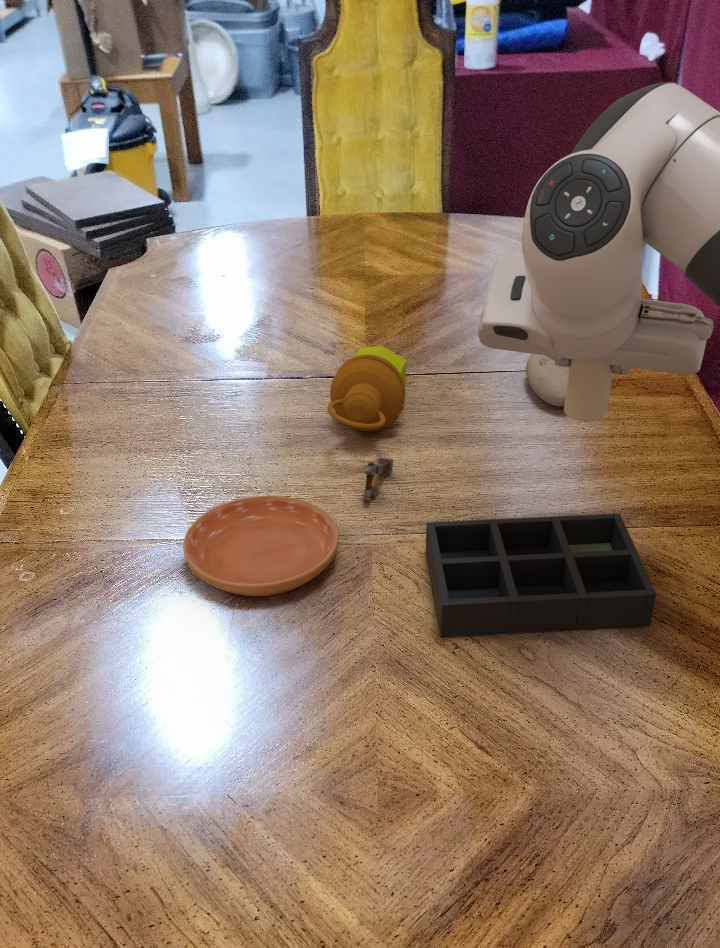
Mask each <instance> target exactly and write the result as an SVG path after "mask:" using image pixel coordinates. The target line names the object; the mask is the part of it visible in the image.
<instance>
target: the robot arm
mask: <svg viewBox="0 0 720 948" xmlns="http://www.w3.org/2000/svg"><path fill="white" fill-rule="evenodd" d="M521 234H522V235H521V246H522V247H521V250H522V253H515V254H514V253H513V254H502V255H500V256H497V257H496V259H495V261H494V265H493V268H492V270H491V273H490V275H489V278H488V283H487V286H486V290H485V294H484V299H483V306H482V310H481V314H480V319H479V323H478V327H477V336H478V339H479V342H480V344H481V345H483V346H485V347H487V348H490V349H493V350H500V351H501V350H502V351H509V352H516V353H523V354H529V355H530V354H531V355H532V354H537V355H545V356H547V357H549V358H550V359H552V360H554V362H555V365H556V366H562V367H570V360H571V359H574V360H581V361H589V362H596V363H604V364H611V365H612V373H613V374H615V375H622V376H628V374H629V371H630V370H633V369H641V370H649V371H656V372H663V373H671V374H677V375H685V376H687V375H692V374H696V373H698V372H700V370H701V367H702V364H703V363H702V362H703V359H704V354H705V350H706V345H707V340H708V339H710V337H711V336H712V335H713V331H714V321H713V320H712V318H710V317H705V315H704V313H703V312H702V311H701V310H700V309H699V308H697V307H696V306H693V305H690V304H686V303H681V302H671V301H664V300H655V299H646V298H643V273H642V268H643V267H642V266H643V261H644V248H645V246H646V245H648V246H649V247H650V248H651V249H653V250H655V251H656V252H657V253H659V254H660V255H661V256H662V257H663V258H665V259H667V260H668V261H669V262H670V263H671V264H673V265H674V266H675V267H676V268H678V269H679V270H680V271H681V272H683V273H684V275H685V277H686V278H687V279H688V280H689V281H690V282H691V283H692V284H693V285H695V286H696V287H697V289H699V290H700V291H701V293H703V294H704V295H705V296H706V297H707V298H708V299H709V300H710V301H711V302H712V303H714V305H716V306H717V307H720V111H719V110H717V109H715V108H714V107H713V106H711V105H710V104H708V102H706V101H704V100H703V99H701V98H700V97H699V96H697V95H695V94H694V93H693V92H691V91H690V90H688V89H686V87H683V86H681V85H680V84H679V83H678V82H675V81H662V82H658V83H652V84H650V85H647V86H644V87H641V88H639V89H636V90H635V91H632V92H630V93H628V94H625V95H624V96H621V97H620V98H617V99H616V100H615V101H614V102H612V103H611V104H610V105H609V106H608V107H607V108H606V109H604V111H603V112H601V113H600V115H598V117H596V119H595V120H593V122H592V123H591V124H590V125H589V126H588V128H587V129H586V131H585V132H584V133H583V134H582V136H581V137H580V138H579V140H578V141H577V143H576V144H575V147H574V148H573V149H572V151H571V152H570V154H568V155H566V156H564V157H562V158H560V159H559V160H557V161H556V162H554V163H553V164H552V165H551V166H550V167H549V168H548V169H547V170H546V171H545V172H544V173H543V174H542V176H541V177H540V178H539V179H538V181H537V182H536V184H535V185H534V187H533V190H532V192H531V194H530V197H529V199H528V202H527V206H526V209H525V212H524V219H523V223H522V233H521Z"/></svg>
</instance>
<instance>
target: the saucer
mask: <svg viewBox="0 0 720 948" xmlns="http://www.w3.org/2000/svg"><path fill="white" fill-rule="evenodd" d="M339 541H340V532H339V528H338V525H337V523H336V522H335V520H334V518H333V517H332V516H331V515H330V514H329V513H328V512H327V511H326V510H324V509H323V508H321V507H320V506H318V505H316V504H315V503H311V502H310V501H306V500H304V499H300V498H296V497H291V496H283V495H257V496H256V495H255V496H248V497H242V498H238V499H235V500H230V501H227V502H224V503H222V504H220V505H218V506H215V507H213V508H211V509H209V510H207V511H206V512H205V513H203V514H202V515H200V516H199V517H198V518H197V519H195V521H193V522H192V524H191V525H190V526H189V528H188V529H187V531H186V533H185V536H184V538H183V543H182V550H183V555H184V559H185V561H186V563H187V565H188V567H189V568H190V570H191V571H192V573H193V574H194V575H195V576H196V577H197V578H199V579H200V580H201V581H202V582H205V584H206V583H207V584H208V585H210V586H212V587H214V588H217V589H218V590H221V591H224V592H228V593H230V594H235V595H240V596H245V597H269V596H275V595H280V594H284V593H288V592H291V591H293V590H296V589H297V588H300V587H301V586H303V585H305V584H307V583H308V582H310V581H312V580H313V579H315V578H316V577H317V576H319V575H320V574H321V573H322V572H323V571H324V570H325V569H326V568H328V566H329V565H330V564H331V562H332V561H333V559H334V558H335V556H336V554H337V552H338V549H339V548H338V547H339Z"/></svg>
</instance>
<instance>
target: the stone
mask: <svg viewBox="0 0 720 948" xmlns="http://www.w3.org/2000/svg"><path fill="white" fill-rule="evenodd" d="M525 374H526V378H527V380H528V383H529V385H530V386H531V389H532V390H533V392H534V393H535V394H536V395H537V396H538V398H539V399H541V400H542V401H544V402H545V403H547V404H549V405H552V406H555V407H564V405H565V398H566V390H567V382H568V374H569V367H562V366H556V365H555V362H554V360H552V359H550V358H549V357H547V356H545V355H537V354H531V355H530V356H529V357H528V359H527V360H526V364H525Z"/></svg>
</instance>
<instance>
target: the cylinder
mask: <svg viewBox="0 0 720 948" xmlns="http://www.w3.org/2000/svg"><path fill="white" fill-rule="evenodd" d="M613 375H614V373H612V365H611V364H604V363H596V362H589V361H581V360H574V359H571V360H570V367H569V374H568V382H567V390H566V398H565V405H564V406H563V412H564V414H565V415H566V416H567V417H568V418H571V419H573V420H576V421H580V422H597V421H600V420H602V419H604V418H605V417H606V415H607V413H608V407H609V400H610V394H611V389H612V382H613Z"/></svg>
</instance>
